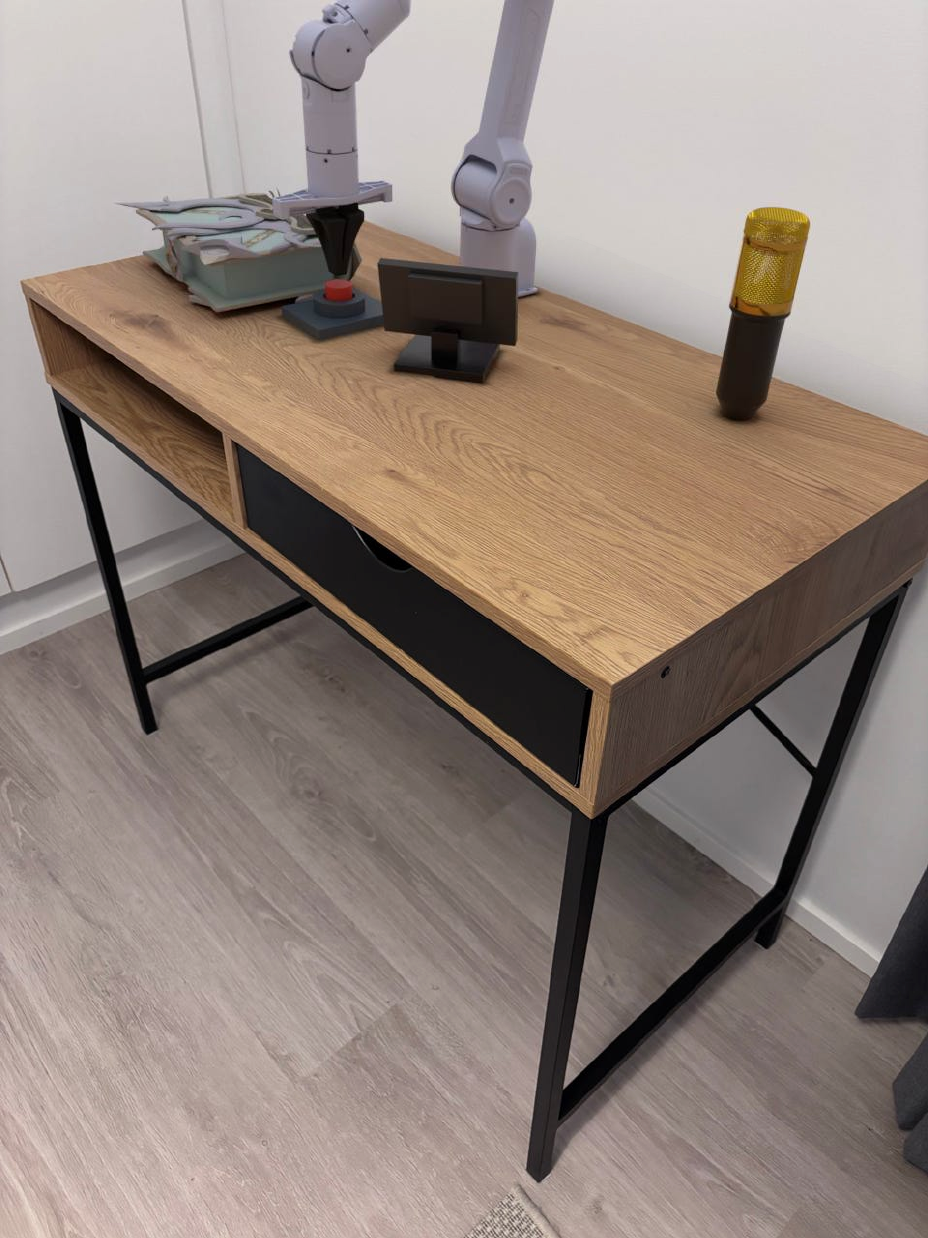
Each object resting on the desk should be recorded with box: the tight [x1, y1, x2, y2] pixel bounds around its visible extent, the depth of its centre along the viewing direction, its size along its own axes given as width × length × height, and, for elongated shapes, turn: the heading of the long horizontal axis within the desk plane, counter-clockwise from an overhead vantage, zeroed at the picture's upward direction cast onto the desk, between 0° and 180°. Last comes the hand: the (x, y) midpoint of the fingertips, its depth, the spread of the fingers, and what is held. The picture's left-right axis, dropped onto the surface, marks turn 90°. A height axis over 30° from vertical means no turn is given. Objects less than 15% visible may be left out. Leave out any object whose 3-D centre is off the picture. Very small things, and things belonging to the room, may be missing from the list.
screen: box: [376, 257, 519, 347], centre depth 108 cm, size 2×15×8 cm, turn 77°
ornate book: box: [114, 188, 363, 313], centre depth 130 cm, size 23×10×30 cm
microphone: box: [715, 206, 811, 421], centre depth 100 cm, size 6×13×20 cm, turn 34°
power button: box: [325, 279, 353, 301], centre depth 119 cm, size 3×3×2 cm
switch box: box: [281, 287, 384, 342], centre depth 120 cm, size 11×9×3 cm
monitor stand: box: [393, 327, 501, 384], centre depth 111 cm, size 9×10×4 cm
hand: (337, 272), depth 118 cm, fingers closed
